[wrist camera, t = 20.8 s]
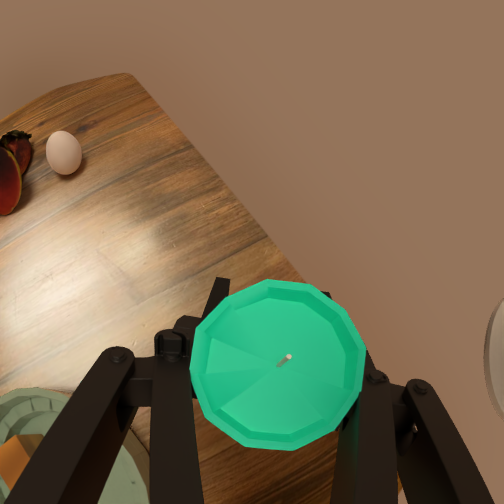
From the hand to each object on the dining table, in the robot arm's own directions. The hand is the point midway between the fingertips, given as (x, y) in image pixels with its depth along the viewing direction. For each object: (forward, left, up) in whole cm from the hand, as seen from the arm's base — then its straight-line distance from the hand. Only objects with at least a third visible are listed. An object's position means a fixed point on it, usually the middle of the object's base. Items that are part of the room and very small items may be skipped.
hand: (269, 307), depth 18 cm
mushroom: (+46, -5, -17) cm, 50 cm away
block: (+14, +24, -16) cm, 32 cm away
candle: (-1, +4, -4) cm, 6 cm away
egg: (+35, -11, -17) cm, 41 cm away
